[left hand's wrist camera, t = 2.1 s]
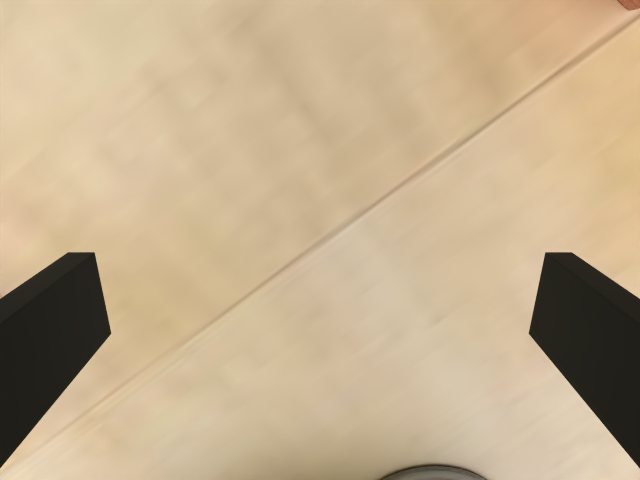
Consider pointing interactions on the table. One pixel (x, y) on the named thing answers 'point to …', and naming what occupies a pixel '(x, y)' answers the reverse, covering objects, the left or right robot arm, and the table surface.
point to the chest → (631, 4)
